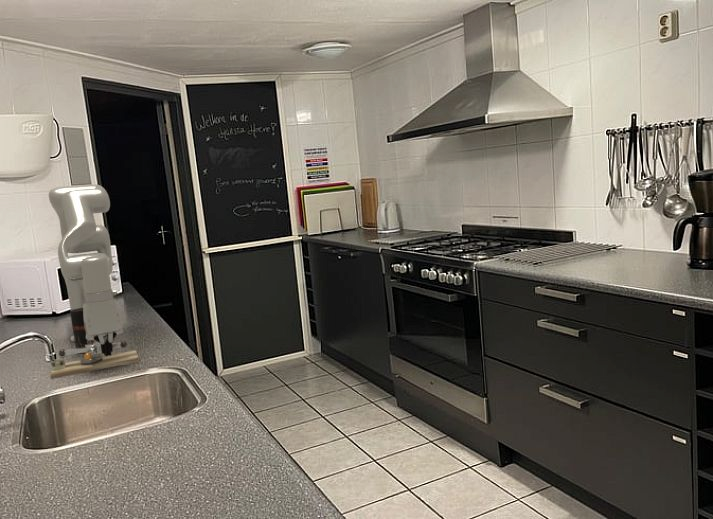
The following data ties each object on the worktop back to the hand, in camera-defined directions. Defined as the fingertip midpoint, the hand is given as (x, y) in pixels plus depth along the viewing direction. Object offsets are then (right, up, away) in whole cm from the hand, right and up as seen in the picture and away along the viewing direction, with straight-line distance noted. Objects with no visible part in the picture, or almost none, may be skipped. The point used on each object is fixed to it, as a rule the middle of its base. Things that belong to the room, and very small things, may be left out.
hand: (107, 354), depth 185 cm
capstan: (-6, -3, +5) cm, 8 cm away
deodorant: (-17, -3, +22) cm, 28 cm away
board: (-6, -4, +5) cm, 9 cm away
